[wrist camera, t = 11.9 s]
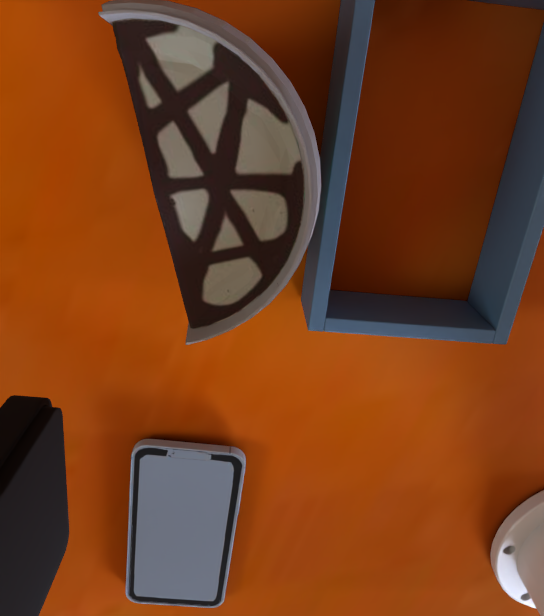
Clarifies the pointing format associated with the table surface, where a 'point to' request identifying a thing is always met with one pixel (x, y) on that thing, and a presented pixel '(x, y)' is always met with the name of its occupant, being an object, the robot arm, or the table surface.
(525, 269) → the rectangular frame
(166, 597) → the smartphone
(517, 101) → the table surface
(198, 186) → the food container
